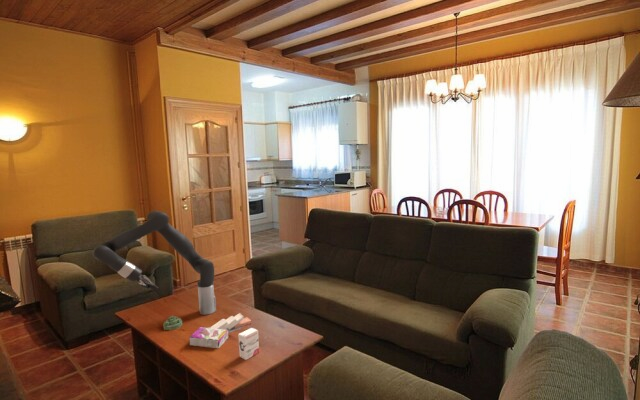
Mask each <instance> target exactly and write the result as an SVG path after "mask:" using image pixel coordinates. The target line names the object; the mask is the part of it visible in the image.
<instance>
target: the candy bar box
mask: <svg viewBox="0 0 640 400" xmlns="http://www.w3.org/2000/svg"><path fill="white" fill-rule="evenodd" d="M188 339H189V341H188V342H189V346H194V347H200V348H209V349H210V348H211V349H219V348H220V347H222V345H223V344H224V343H225V342H226V341H227V340H228V339H229V333H228V330H226V329H217V328H210V327H205V326H199V327H198V328H197V329H196V330H195V331H194V332H193V333H192V334H191V335H190V336H189V338H188Z"/></svg>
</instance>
